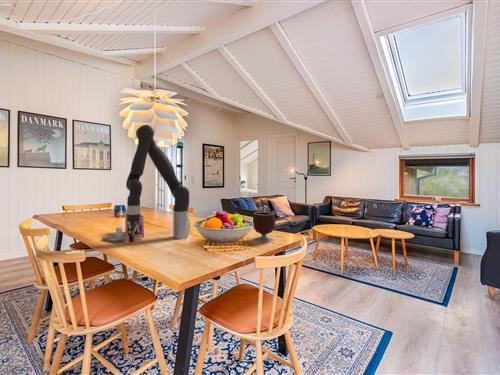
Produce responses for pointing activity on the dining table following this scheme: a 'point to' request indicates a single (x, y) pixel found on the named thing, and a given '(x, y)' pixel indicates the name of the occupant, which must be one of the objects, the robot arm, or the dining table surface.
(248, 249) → the dining table surface
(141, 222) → the gum box
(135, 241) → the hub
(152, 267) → the dining table surface
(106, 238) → the board
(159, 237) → the dining table surface
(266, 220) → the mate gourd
